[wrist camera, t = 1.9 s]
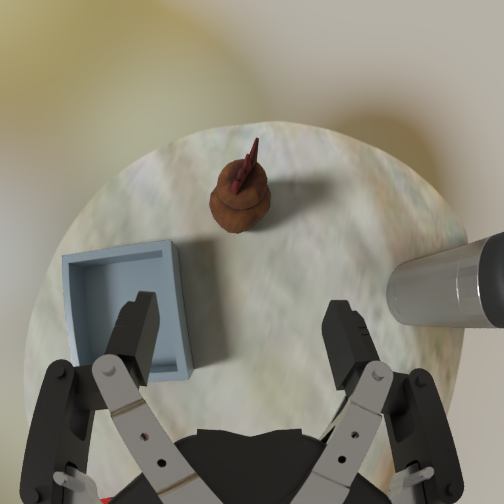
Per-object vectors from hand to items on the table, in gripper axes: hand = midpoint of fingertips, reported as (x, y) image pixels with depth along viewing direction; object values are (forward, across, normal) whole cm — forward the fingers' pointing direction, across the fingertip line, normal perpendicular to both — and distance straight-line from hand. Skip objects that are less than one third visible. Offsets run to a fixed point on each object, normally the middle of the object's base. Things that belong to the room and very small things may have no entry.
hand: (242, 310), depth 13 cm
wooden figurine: (+24, 0, +7) cm, 25 cm away
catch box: (+14, +12, +17) cm, 25 cm away
